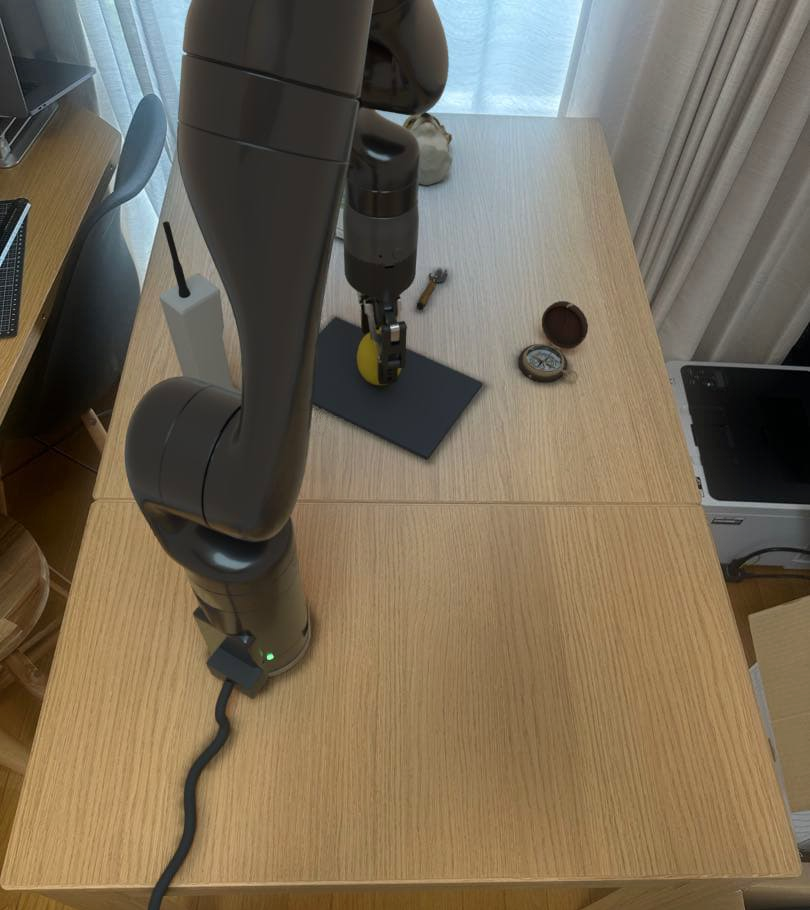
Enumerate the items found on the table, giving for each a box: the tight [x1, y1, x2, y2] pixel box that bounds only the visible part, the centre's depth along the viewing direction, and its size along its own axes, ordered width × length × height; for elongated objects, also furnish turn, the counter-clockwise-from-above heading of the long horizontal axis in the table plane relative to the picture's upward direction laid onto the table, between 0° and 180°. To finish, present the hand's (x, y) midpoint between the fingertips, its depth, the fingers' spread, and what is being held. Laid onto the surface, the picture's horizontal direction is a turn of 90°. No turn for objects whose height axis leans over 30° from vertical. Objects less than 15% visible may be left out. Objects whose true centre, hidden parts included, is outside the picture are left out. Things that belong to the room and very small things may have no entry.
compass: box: [518, 300, 589, 382], centre depth 93 cm, size 8×8×7 cm
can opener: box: [416, 267, 449, 310], centre depth 102 cm, size 9×2×1 cm, turn 153°
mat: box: [313, 316, 483, 461], centre depth 92 cm, size 14×22×1 cm, turn 60°
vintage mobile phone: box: [159, 220, 242, 394], centre depth 79 cm, size 4×5×25 cm
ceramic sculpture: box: [402, 112, 453, 186], centre depth 114 cm, size 11×9×15 cm
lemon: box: [357, 329, 401, 385], centre depth 89 cm, size 6×6×8 cm
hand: (378, 356), depth 88 cm, fingers open, 8 cm apart
